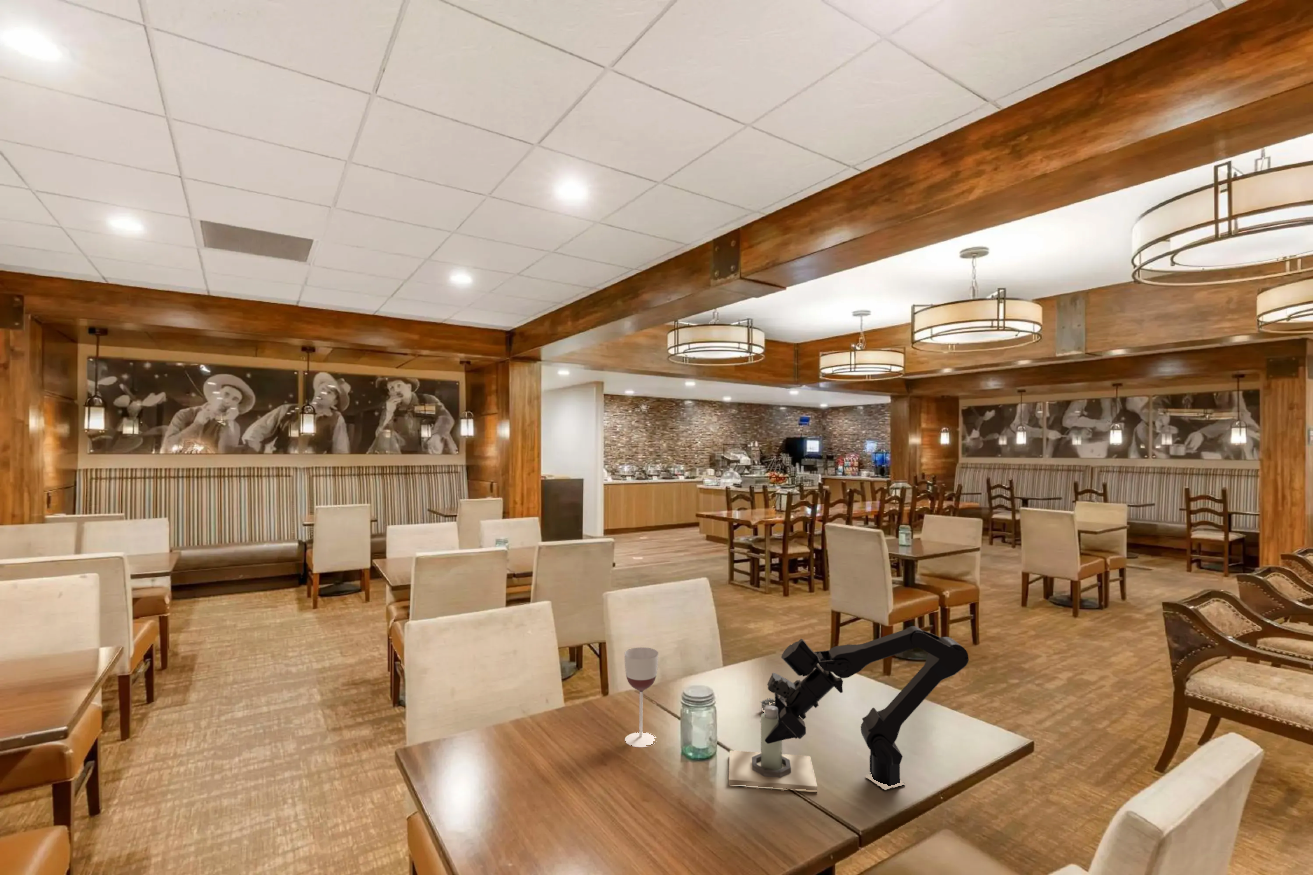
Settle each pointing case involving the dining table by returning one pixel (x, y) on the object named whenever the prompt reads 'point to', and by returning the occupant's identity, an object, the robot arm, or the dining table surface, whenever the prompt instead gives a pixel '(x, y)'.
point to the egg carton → (767, 702)
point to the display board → (771, 771)
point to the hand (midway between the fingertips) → (765, 732)
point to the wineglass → (641, 686)
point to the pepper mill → (771, 751)
